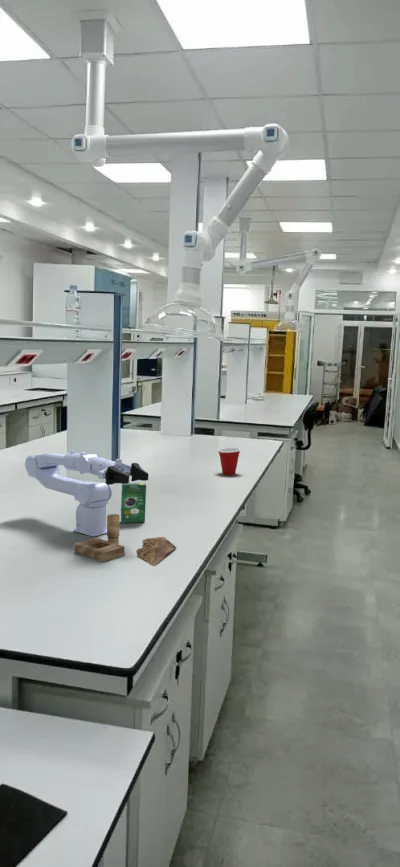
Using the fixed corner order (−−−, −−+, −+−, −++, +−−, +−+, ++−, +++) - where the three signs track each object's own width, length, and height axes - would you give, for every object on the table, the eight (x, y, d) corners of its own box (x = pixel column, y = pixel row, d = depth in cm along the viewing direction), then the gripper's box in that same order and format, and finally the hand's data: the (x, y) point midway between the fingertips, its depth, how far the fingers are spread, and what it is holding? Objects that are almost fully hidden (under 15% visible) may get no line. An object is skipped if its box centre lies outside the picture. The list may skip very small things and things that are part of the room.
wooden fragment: (144, 537, 201) (144, 534, 201) (180, 539, 200) (180, 536, 200) (129, 566, 176) (129, 562, 175) (169, 568, 175) (169, 564, 175)
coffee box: (144, 520, 220) (144, 482, 218) (145, 522, 217) (146, 484, 216) (120, 521, 218) (121, 482, 216) (121, 523, 215) (122, 484, 214)
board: (74, 552, 185) (74, 543, 184) (96, 545, 191) (96, 537, 191) (103, 561, 177) (103, 552, 177) (124, 555, 183) (124, 546, 183)
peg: (104, 545, 192) (104, 515, 191) (113, 542, 195) (113, 513, 193) (112, 547, 190) (112, 517, 188) (121, 545, 192) (122, 515, 191)
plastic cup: (215, 471, 307) (216, 446, 305) (238, 472, 308) (239, 447, 306) (218, 476, 296) (218, 450, 294) (241, 476, 297) (242, 450, 295)
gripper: (89, 458, 192) (120, 467, 183) (126, 454, 203) (156, 462, 194) (88, 481, 193) (118, 491, 184) (124, 476, 204) (154, 485, 195)
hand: (138, 478), depth 189 cm, fingers open, 7 cm apart
